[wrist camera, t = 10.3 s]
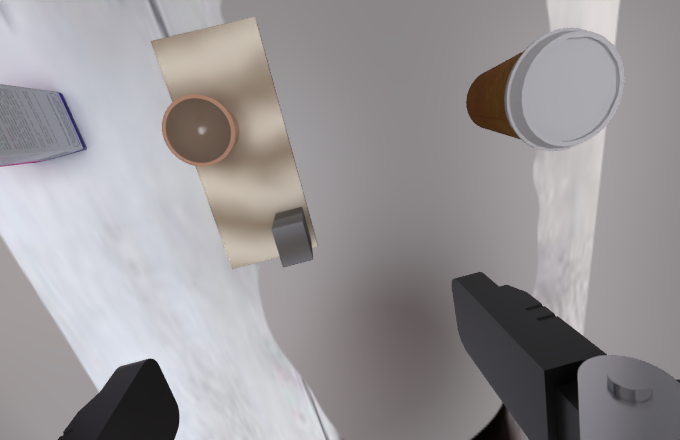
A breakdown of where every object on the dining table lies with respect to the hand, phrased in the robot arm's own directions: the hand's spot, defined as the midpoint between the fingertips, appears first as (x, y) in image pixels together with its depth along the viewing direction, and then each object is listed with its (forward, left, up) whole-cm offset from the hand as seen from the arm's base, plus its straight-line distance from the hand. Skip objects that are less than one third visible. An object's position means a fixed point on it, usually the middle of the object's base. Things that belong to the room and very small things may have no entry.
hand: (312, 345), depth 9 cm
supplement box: (-11, -23, -31) cm, 41 cm away
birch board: (-4, -5, -31) cm, 32 cm away
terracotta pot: (-7, -7, -30) cm, 31 cm away
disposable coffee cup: (-3, +23, -31) cm, 39 cm away
